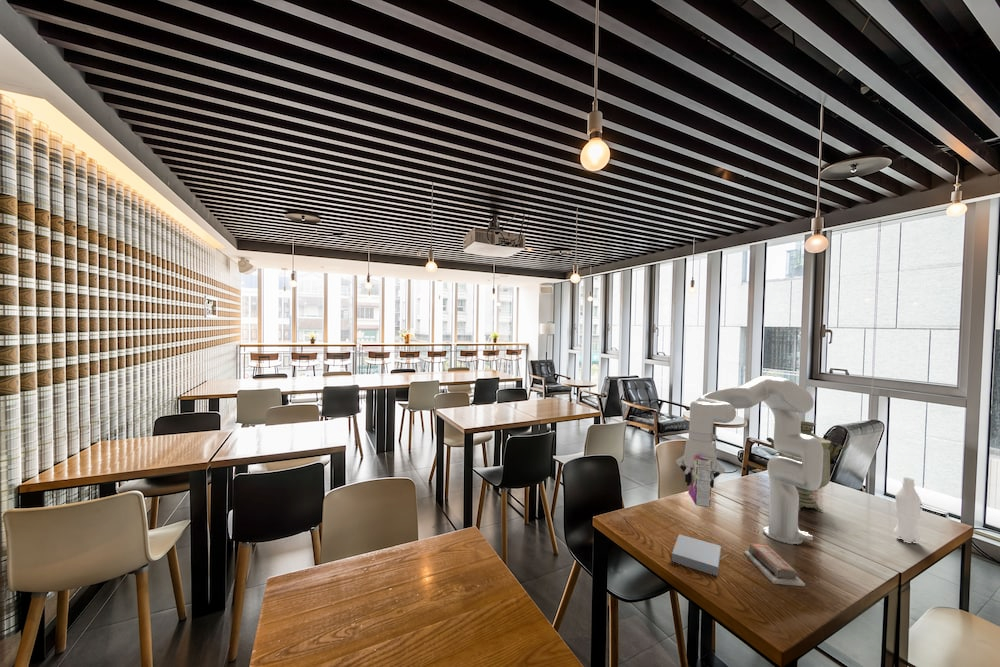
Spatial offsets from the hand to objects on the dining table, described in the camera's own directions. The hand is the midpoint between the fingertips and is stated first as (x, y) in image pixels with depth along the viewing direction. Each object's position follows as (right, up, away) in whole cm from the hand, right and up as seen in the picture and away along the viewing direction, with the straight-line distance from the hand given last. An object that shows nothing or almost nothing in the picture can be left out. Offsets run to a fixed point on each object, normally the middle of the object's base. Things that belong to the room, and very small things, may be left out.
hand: (699, 486), depth 139 cm
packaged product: (+23, -27, -5) cm, 36 cm away
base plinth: (-1, -25, 0) cm, 25 cm away
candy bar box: (0, -5, 0) cm, 5 cm away
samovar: (+72, -28, +46) cm, 90 cm away
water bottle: (+92, -29, +18) cm, 98 cm away
